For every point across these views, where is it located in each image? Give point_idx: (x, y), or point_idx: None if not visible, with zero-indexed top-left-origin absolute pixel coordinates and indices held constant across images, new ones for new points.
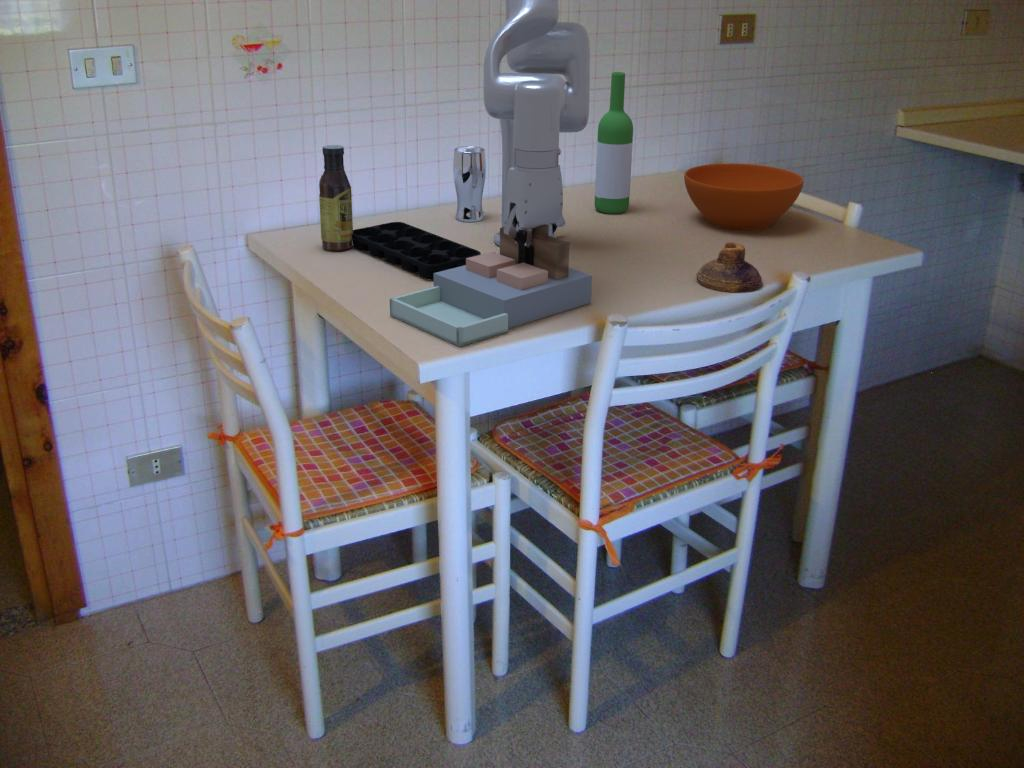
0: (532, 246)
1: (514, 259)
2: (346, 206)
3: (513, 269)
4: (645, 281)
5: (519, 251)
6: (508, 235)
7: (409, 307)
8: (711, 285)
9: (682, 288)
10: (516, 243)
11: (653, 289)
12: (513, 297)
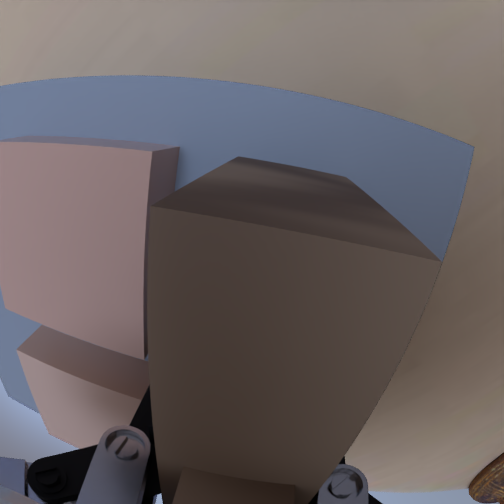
0: None
1: (144, 353)
2: None
3: (63, 398)
4: (500, 412)
5: (140, 409)
6: (8, 458)
7: None
8: (478, 479)
9: (474, 459)
10: (115, 428)
11: (458, 444)
12: (30, 407)
